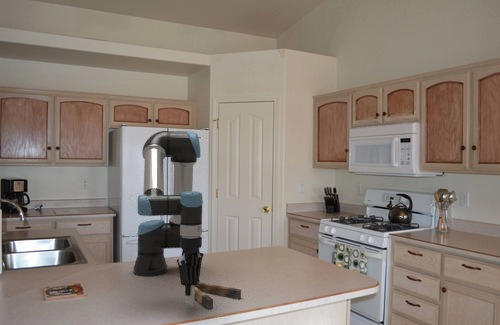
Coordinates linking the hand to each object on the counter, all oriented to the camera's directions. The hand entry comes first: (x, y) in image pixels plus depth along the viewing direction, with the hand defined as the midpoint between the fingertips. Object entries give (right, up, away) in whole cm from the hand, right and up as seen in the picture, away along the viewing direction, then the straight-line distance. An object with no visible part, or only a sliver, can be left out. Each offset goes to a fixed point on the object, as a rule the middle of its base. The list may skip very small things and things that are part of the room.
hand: (189, 303), depth 139 cm
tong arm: (+1, -1, +9) cm, 9 cm away
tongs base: (+6, -2, +15) cm, 16 cm away
